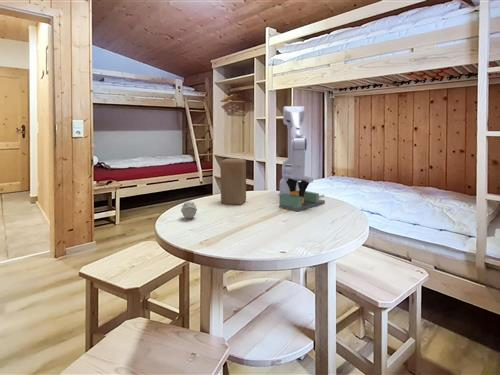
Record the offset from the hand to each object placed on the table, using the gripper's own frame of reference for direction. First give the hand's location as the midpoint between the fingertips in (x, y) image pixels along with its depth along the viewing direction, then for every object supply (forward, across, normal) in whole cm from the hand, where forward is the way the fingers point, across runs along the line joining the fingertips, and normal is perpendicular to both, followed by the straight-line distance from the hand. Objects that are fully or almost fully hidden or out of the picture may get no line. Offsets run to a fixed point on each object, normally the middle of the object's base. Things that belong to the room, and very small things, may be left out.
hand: (297, 196), depth 146 cm
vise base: (+4, 0, +4) cm, 6 cm away
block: (+5, -26, -14) cm, 30 cm away
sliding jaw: (+3, 0, +10) cm, 11 cm away
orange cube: (+3, 0, 0) cm, 3 cm away
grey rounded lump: (+5, -18, -44) cm, 48 cm away
